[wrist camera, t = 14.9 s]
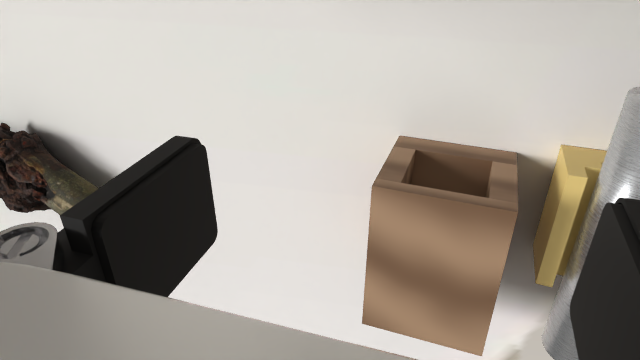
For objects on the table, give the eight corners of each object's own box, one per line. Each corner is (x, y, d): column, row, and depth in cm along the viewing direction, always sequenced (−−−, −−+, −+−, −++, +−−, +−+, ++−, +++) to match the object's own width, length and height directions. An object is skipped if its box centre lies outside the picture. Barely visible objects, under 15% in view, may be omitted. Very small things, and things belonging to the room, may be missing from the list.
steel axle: (621, 82, 25) (636, 110, 21) (710, 91, 23) (740, 121, 20) (540, 318, 34) (543, 362, 31) (601, 333, 33) (610, 380, 30)
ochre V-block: (561, 144, 30) (568, 174, 26) (688, 161, 28) (715, 197, 24) (532, 244, 34) (535, 283, 30) (642, 266, 32) (660, 311, 28)
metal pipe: (156, 212, 45) (114, 243, 41) (139, 254, 49) (99, 287, 44) (17, 110, 47) (-40, 128, 42) (11, 158, 50) (-42, 180, 46)
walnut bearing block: (399, 135, 34) (372, 185, 27) (516, 152, 31) (518, 212, 25) (387, 256, 39) (362, 323, 32) (487, 279, 36) (481, 356, 30)
